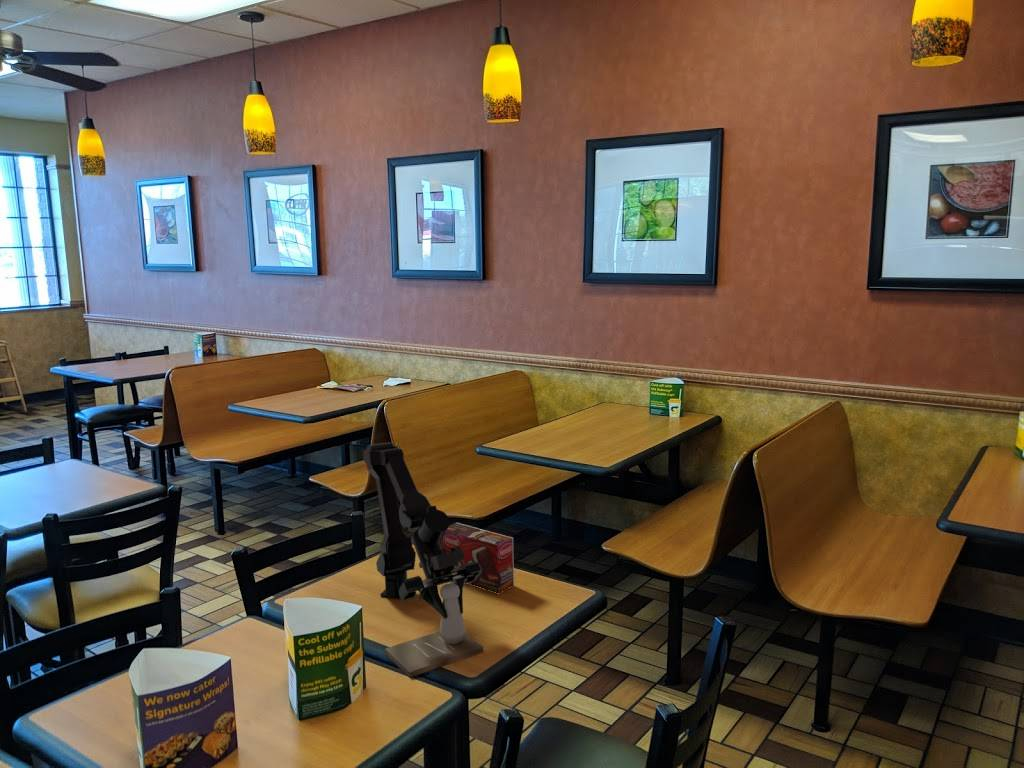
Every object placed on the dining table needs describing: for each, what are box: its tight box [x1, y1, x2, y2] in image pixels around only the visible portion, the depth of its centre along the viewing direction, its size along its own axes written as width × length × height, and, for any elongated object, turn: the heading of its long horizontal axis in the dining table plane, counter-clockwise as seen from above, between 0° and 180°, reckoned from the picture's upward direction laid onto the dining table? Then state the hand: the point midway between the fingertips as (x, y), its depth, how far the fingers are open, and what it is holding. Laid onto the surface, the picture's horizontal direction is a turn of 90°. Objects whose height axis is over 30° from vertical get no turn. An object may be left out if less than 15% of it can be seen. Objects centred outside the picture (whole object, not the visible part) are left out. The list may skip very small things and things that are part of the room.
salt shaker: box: [439, 582, 467, 644], centre depth 173 cm, size 6×6×13 cm
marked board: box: [384, 630, 485, 678], centre depth 171 cm, size 18×12×1 cm, turn 124°
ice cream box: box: [440, 522, 515, 594], centre depth 207 cm, size 20×6×13 cm, turn 51°
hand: (453, 615), depth 171 cm, fingers closed on salt shaker, 3 cm apart
